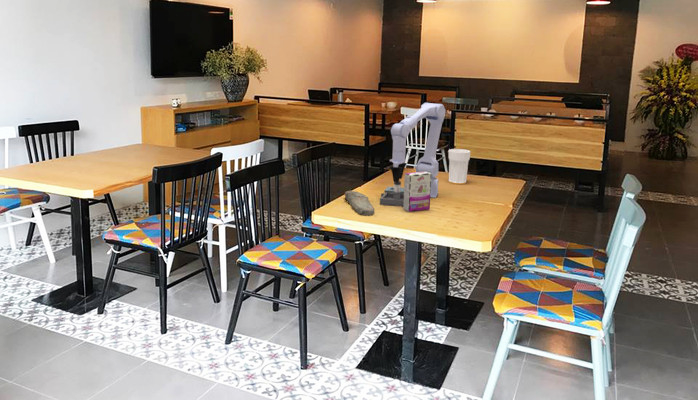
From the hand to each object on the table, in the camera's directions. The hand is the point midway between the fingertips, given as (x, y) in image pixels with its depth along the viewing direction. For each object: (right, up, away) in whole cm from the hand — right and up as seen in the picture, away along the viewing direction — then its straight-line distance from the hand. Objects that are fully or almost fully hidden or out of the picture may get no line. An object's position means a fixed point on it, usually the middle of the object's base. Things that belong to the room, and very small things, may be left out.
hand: (397, 180), depth 270 cm
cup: (+36, 0, +49) cm, 61 cm away
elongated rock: (-18, -12, -5) cm, 22 cm away
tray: (0, -10, +2) cm, 10 cm away
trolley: (+2, -7, +14) cm, 16 cm away
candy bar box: (+7, -13, -9) cm, 18 cm away
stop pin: (0, -9, +2) cm, 10 cm away
